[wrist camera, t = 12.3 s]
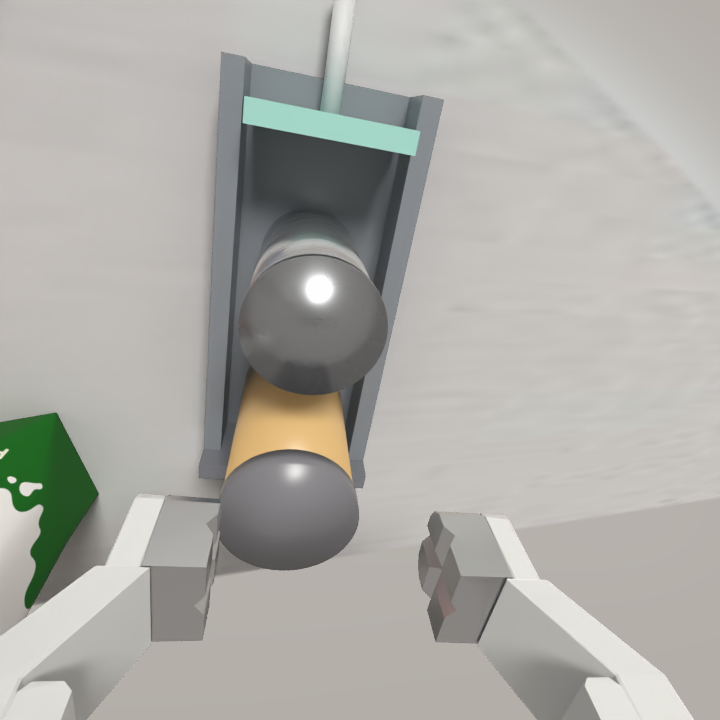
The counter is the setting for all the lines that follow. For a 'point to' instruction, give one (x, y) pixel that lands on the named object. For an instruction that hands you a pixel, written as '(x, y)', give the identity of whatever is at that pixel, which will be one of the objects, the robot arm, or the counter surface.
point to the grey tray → (299, 191)
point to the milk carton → (36, 507)
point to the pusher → (332, 102)
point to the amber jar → (287, 479)
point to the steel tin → (311, 307)
